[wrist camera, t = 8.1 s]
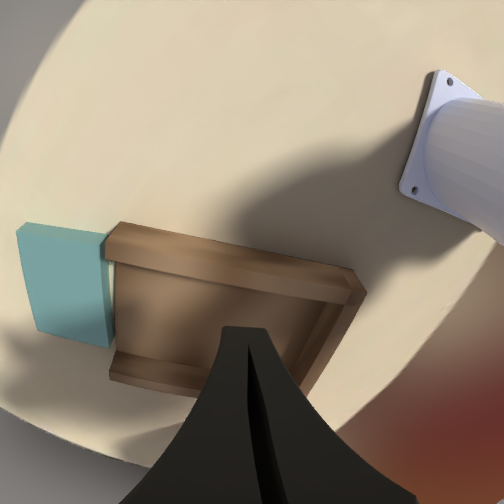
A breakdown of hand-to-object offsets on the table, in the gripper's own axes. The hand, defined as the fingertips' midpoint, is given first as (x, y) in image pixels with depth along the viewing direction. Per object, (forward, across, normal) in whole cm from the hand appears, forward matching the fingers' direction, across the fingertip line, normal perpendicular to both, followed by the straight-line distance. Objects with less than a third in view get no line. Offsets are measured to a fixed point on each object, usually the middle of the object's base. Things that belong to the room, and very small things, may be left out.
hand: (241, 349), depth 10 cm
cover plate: (+9, +11, +4) cm, 15 cm away
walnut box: (+8, +1, +6) cm, 10 cm away
